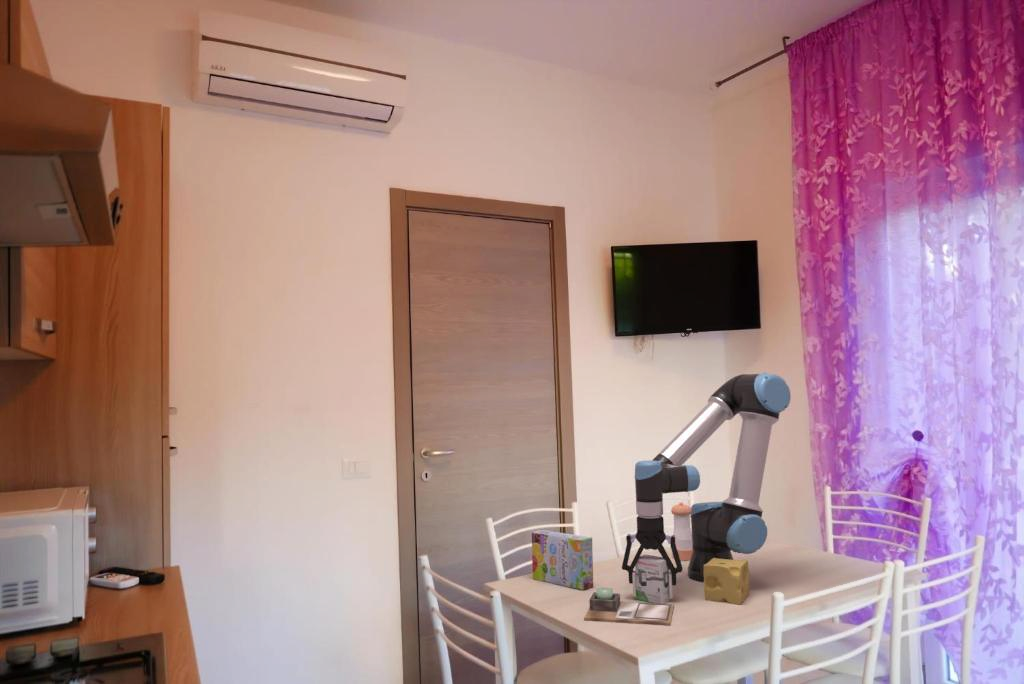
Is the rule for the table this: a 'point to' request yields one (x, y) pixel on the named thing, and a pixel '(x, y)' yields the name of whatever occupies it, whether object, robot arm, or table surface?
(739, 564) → the cheese
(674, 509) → the salt shaker
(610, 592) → the button
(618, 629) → the table surface
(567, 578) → the snack box
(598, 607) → the wooden tray
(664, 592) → the ink box
